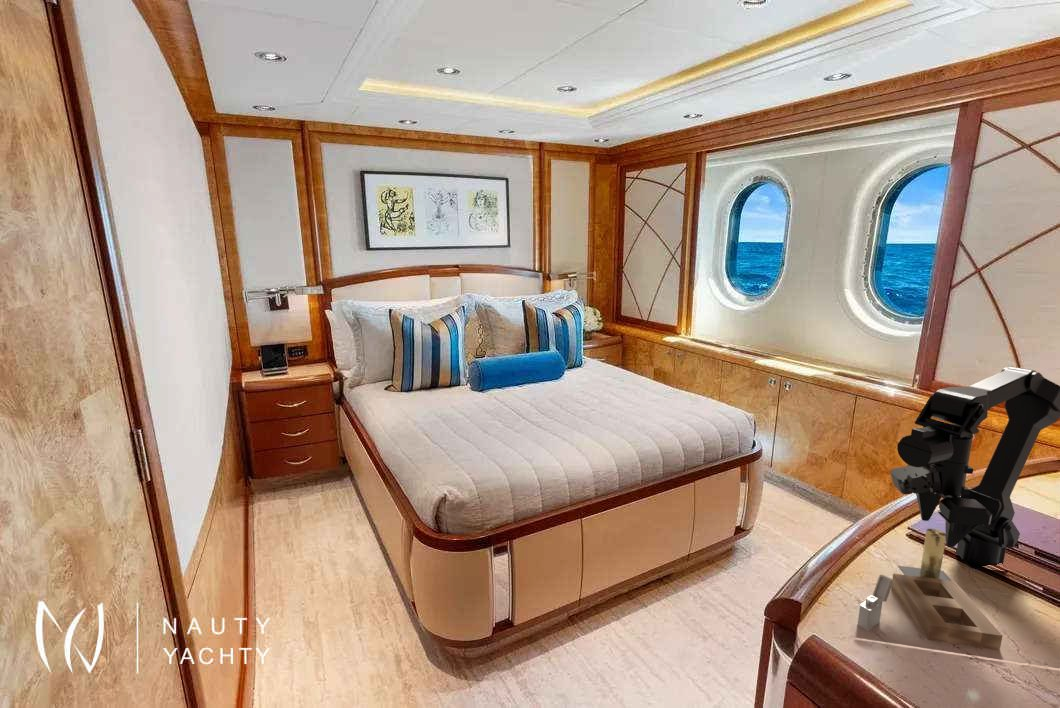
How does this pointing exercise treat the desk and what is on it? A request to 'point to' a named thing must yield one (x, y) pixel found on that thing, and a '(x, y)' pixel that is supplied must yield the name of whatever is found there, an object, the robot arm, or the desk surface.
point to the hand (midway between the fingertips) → (936, 532)
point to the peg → (933, 554)
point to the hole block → (945, 612)
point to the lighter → (874, 604)
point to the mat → (916, 572)
